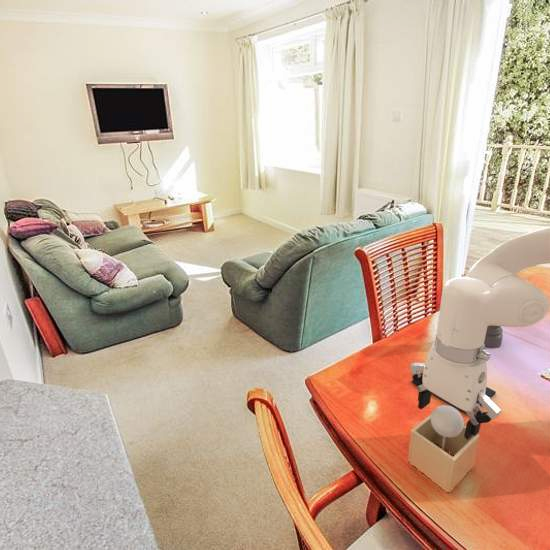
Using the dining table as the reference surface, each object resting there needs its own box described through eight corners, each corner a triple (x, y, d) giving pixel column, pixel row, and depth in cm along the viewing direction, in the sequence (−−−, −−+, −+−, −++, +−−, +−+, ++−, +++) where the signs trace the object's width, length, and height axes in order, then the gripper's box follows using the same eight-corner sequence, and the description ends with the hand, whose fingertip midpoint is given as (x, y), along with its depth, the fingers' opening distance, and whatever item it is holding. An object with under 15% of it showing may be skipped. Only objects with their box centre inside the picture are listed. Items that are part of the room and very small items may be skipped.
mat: (495, 393, 95) (495, 391, 95) (469, 416, 89) (470, 414, 88) (437, 364, 107) (438, 361, 107) (411, 382, 101) (412, 380, 101)
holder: (473, 467, 77) (480, 435, 73) (448, 493, 72) (454, 460, 68) (433, 439, 84) (437, 408, 80) (407, 461, 79) (410, 430, 75)
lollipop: (426, 448, 82) (433, 395, 75) (456, 457, 79) (466, 402, 73) (423, 471, 77) (430, 416, 70) (454, 482, 74) (465, 425, 68)
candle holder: (476, 344, 114) (489, 269, 104) (479, 334, 119) (492, 261, 109) (499, 350, 111) (515, 273, 101) (502, 339, 115) (517, 265, 105)
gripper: (521, 360, 61) (501, 437, 68) (427, 320, 74) (418, 387, 81) (498, 380, 57) (480, 459, 64) (403, 333, 70) (396, 403, 77)
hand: (445, 419), depth 73 cm, fingers open, 9 cm apart
